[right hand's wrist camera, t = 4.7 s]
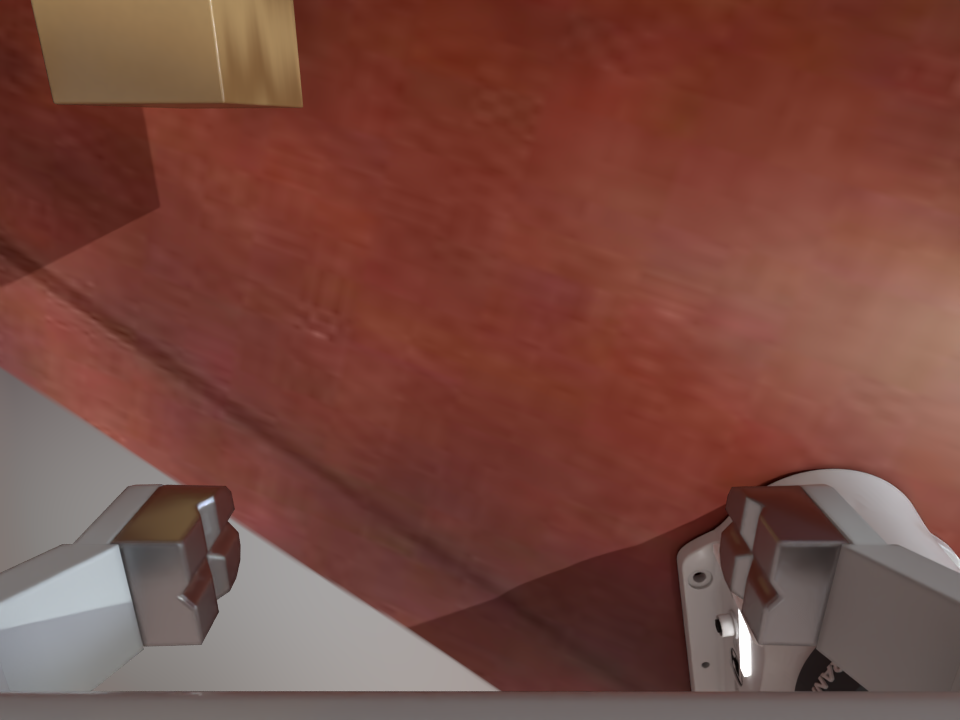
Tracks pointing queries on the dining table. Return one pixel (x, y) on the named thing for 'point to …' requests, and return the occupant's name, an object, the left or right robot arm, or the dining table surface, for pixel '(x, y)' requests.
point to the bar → (170, 53)
